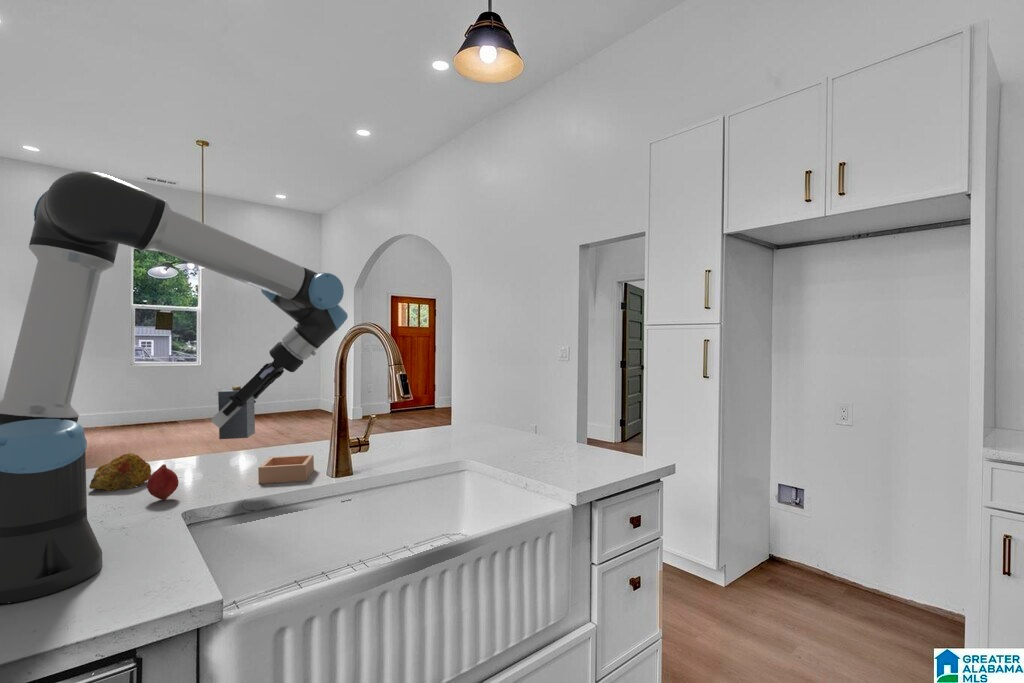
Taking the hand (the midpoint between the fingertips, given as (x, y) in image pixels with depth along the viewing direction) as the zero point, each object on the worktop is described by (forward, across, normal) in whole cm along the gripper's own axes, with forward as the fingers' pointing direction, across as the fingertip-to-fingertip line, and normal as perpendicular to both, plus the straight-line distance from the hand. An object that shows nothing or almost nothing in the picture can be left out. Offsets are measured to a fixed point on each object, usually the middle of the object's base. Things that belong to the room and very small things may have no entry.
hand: (220, 421), depth 122 cm
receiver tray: (+3, +9, -20) cm, 22 cm away
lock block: (0, 0, -5) cm, 5 cm away
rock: (+30, +10, +6) cm, 32 cm away
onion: (+19, -5, -4) cm, 20 cm away
